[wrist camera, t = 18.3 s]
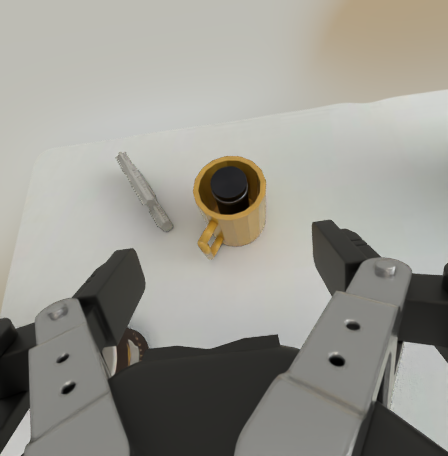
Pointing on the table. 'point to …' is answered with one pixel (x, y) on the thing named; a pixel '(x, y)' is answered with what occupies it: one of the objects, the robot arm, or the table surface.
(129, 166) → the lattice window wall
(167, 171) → the table surface
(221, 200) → the dark grey cylinder
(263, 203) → the mug
